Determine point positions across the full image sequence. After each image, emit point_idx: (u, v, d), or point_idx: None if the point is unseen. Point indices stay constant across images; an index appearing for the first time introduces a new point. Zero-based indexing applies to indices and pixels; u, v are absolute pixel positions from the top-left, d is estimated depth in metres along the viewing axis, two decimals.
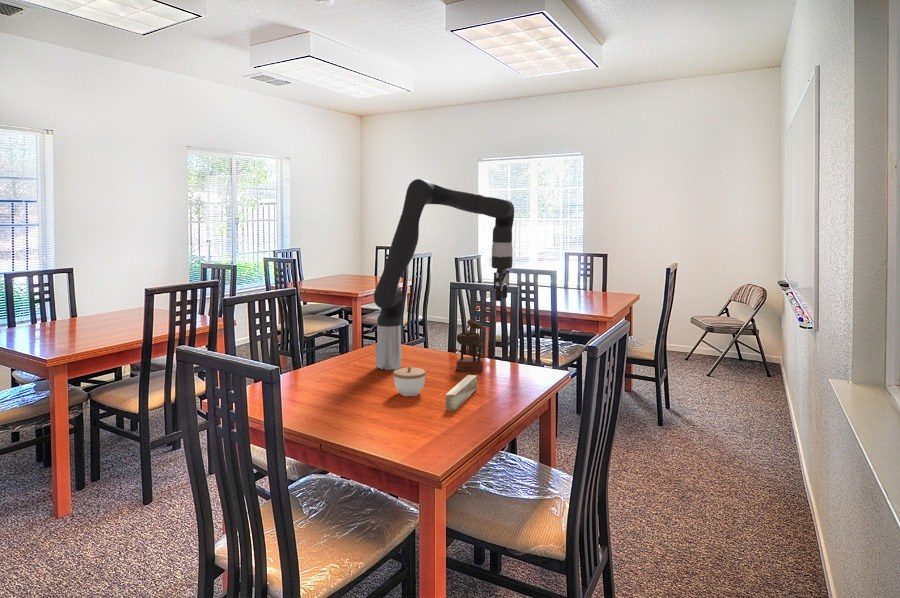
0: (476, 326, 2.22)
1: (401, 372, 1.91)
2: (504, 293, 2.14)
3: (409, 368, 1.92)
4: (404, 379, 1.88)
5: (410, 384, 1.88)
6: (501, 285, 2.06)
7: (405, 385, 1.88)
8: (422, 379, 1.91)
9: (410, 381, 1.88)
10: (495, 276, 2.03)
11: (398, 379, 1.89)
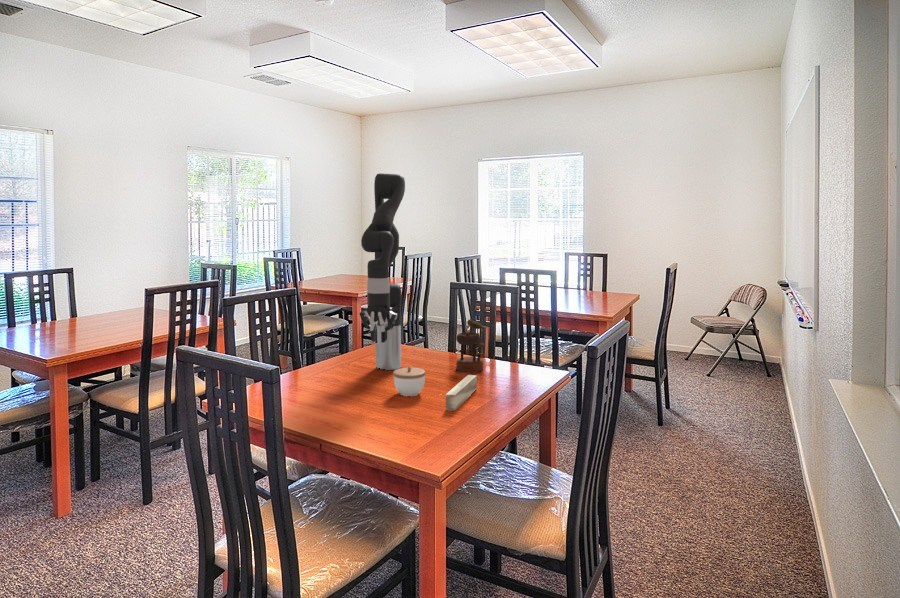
0: (476, 326, 2.22)
1: (401, 372, 1.91)
2: (375, 336, 1.95)
3: (409, 368, 1.92)
4: (404, 379, 1.88)
5: (410, 384, 1.88)
6: (387, 325, 1.95)
7: (405, 385, 1.88)
8: (422, 379, 1.91)
9: (410, 381, 1.88)
10: (394, 318, 1.92)
11: (398, 379, 1.89)
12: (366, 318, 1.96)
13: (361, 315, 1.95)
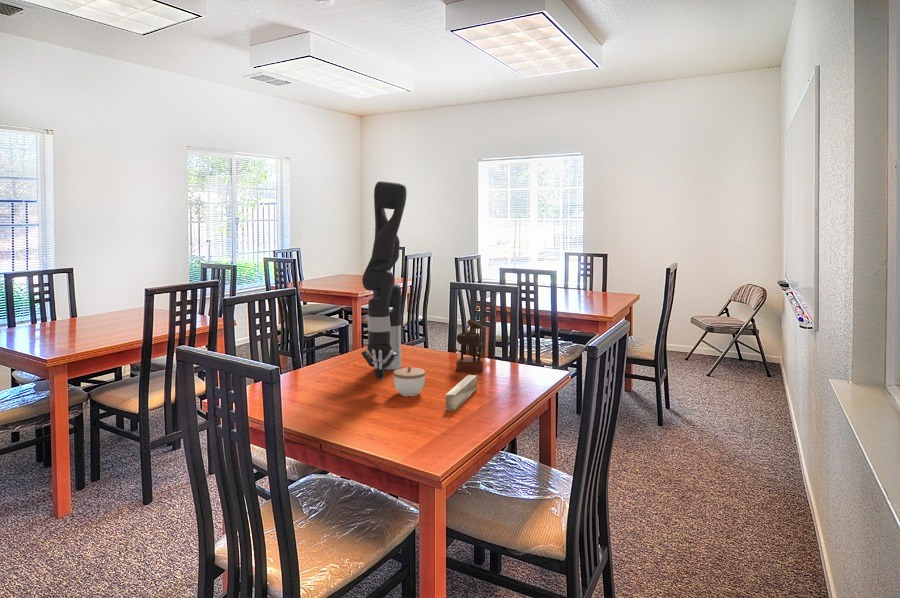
0: (476, 326, 2.22)
1: (401, 372, 1.91)
2: None
3: (409, 368, 1.92)
4: (404, 379, 1.88)
5: (410, 384, 1.88)
6: (384, 363, 1.97)
7: (405, 385, 1.88)
8: (422, 379, 1.91)
9: (410, 381, 1.88)
10: (393, 358, 1.93)
11: (398, 379, 1.89)
12: (369, 356, 1.97)
13: (363, 354, 1.96)
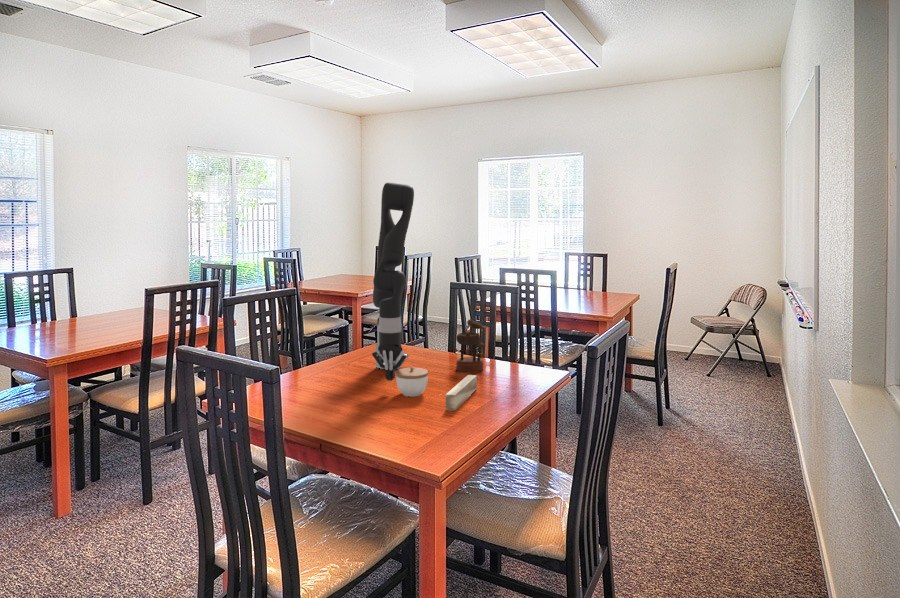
0: (476, 326, 2.22)
1: (404, 372, 1.91)
2: None
3: (412, 368, 1.92)
4: (406, 379, 1.88)
5: (412, 384, 1.88)
6: (395, 364, 1.95)
7: (407, 385, 1.88)
8: (425, 379, 1.90)
9: (412, 381, 1.88)
10: (404, 359, 1.92)
11: (400, 379, 1.89)
12: (379, 357, 1.96)
13: (374, 355, 1.95)
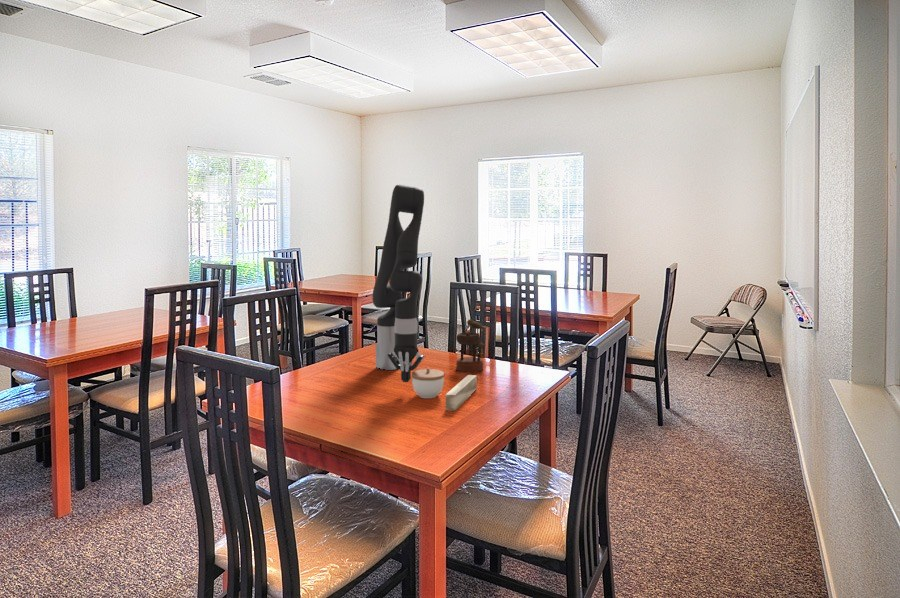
0: (476, 326, 2.22)
1: (420, 374, 1.89)
2: None
3: (428, 370, 1.90)
4: (423, 381, 1.86)
5: (429, 386, 1.86)
6: (411, 365, 1.93)
7: (424, 387, 1.86)
8: (441, 381, 1.88)
9: (429, 383, 1.86)
10: (420, 361, 1.90)
11: (416, 381, 1.87)
12: (395, 358, 1.94)
13: (389, 356, 1.93)
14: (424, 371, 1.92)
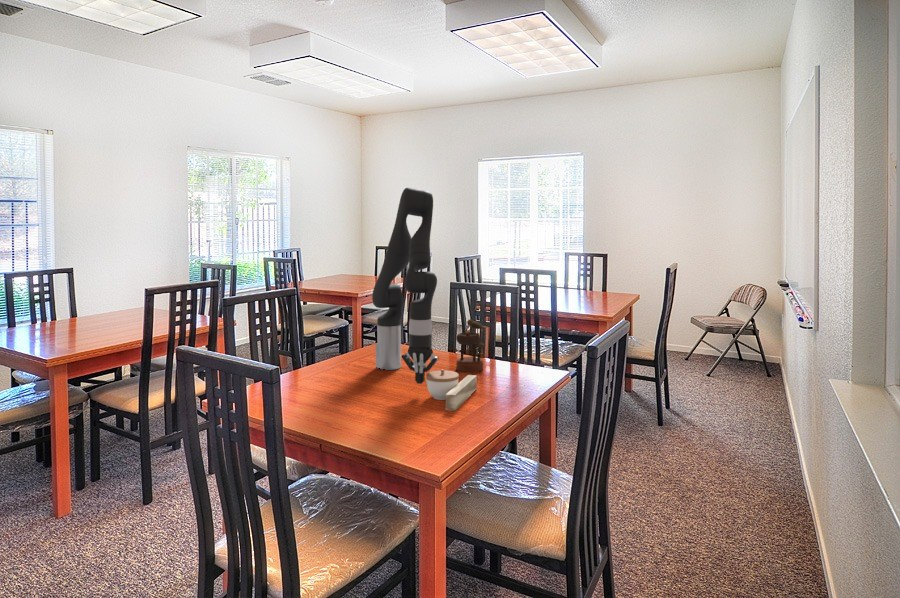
0: (476, 326, 2.22)
1: (434, 375, 1.87)
2: None
3: (442, 371, 1.89)
4: (438, 382, 1.84)
5: (444, 387, 1.85)
6: (425, 366, 1.92)
7: (439, 388, 1.85)
8: (456, 382, 1.87)
9: (444, 384, 1.84)
10: (435, 362, 1.89)
11: (431, 382, 1.86)
12: (409, 360, 1.92)
13: (403, 358, 1.91)
14: (438, 372, 1.91)
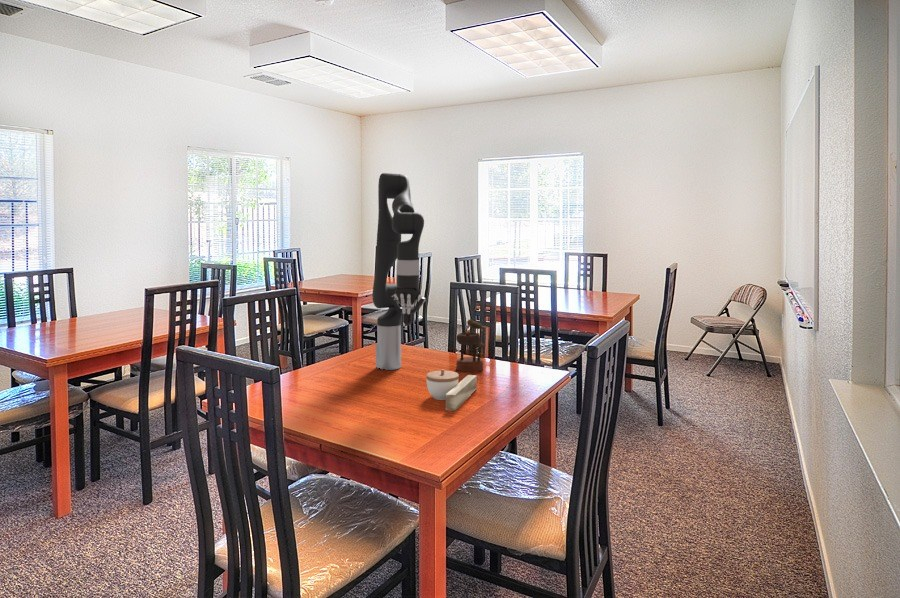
0: (476, 326, 2.22)
1: (434, 375, 1.87)
2: None
3: (442, 371, 1.89)
4: (438, 382, 1.84)
5: (444, 387, 1.85)
6: (413, 308, 1.94)
7: (439, 388, 1.85)
8: (456, 382, 1.87)
9: (444, 384, 1.84)
10: (422, 303, 1.90)
11: (431, 382, 1.86)
12: (397, 301, 1.94)
13: (391, 299, 1.93)
14: (438, 372, 1.91)
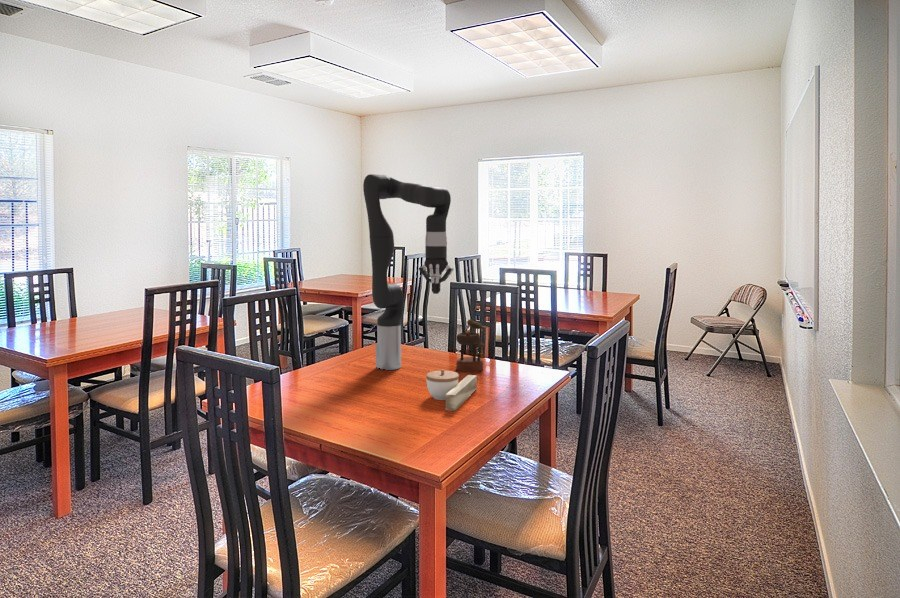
0: (476, 326, 2.22)
1: (434, 375, 1.87)
2: None
3: (442, 371, 1.89)
4: (438, 382, 1.84)
5: (444, 387, 1.85)
6: (441, 278, 2.05)
7: (439, 388, 1.85)
8: (456, 382, 1.87)
9: (444, 384, 1.84)
10: (450, 272, 2.02)
11: (431, 382, 1.86)
12: (425, 272, 2.06)
13: (420, 270, 2.05)
14: (438, 372, 1.91)
